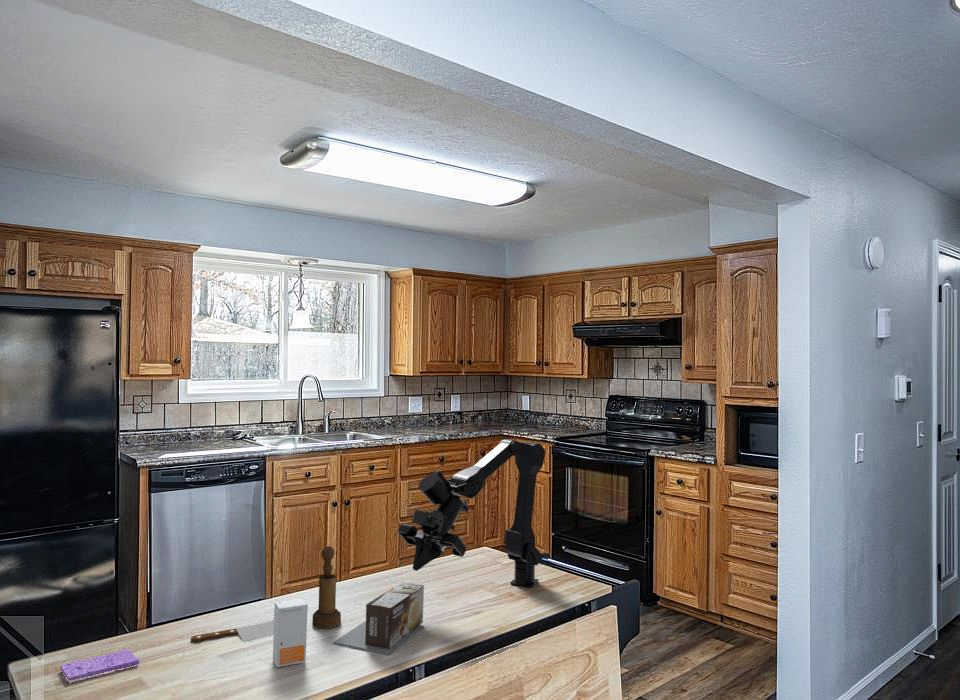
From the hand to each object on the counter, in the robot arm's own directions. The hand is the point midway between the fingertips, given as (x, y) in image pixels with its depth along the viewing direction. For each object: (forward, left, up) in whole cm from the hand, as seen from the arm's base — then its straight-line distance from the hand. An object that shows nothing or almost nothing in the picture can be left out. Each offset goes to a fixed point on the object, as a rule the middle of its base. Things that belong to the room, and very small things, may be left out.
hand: (414, 569), depth 163 cm
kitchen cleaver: (+23, -30, -13) cm, 39 cm away
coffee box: (+2, +1, -7) cm, 7 cm away
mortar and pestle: (+11, -17, -12) cm, 24 cm away
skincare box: (+31, -12, -12) cm, 35 cm away
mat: (+12, -2, -12) cm, 17 cm away
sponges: (+49, -45, -13) cm, 67 cm away
